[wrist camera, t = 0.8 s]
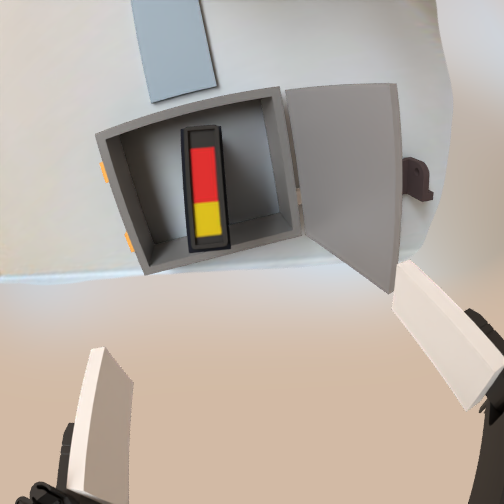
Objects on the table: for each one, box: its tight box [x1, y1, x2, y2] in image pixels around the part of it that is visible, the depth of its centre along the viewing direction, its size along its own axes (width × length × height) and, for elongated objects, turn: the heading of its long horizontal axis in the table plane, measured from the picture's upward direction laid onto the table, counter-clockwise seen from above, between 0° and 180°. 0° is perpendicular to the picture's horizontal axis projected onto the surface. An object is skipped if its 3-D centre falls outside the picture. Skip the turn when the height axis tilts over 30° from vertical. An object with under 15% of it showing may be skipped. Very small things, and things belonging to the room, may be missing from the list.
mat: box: [131, 0, 216, 103], centre depth 27 cm, size 15×8×1 cm, turn 10°
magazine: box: [181, 125, 231, 253], centre depth 31 cm, size 4×13×15 cm, turn 0°
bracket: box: [402, 157, 433, 202], centre depth 39 cm, size 6×12×5 cm, turn 98°
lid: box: [285, 83, 402, 294], centre depth 25 cm, size 17×14×1 cm
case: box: [95, 86, 302, 275], centre depth 29 cm, size 18×25×16 cm
